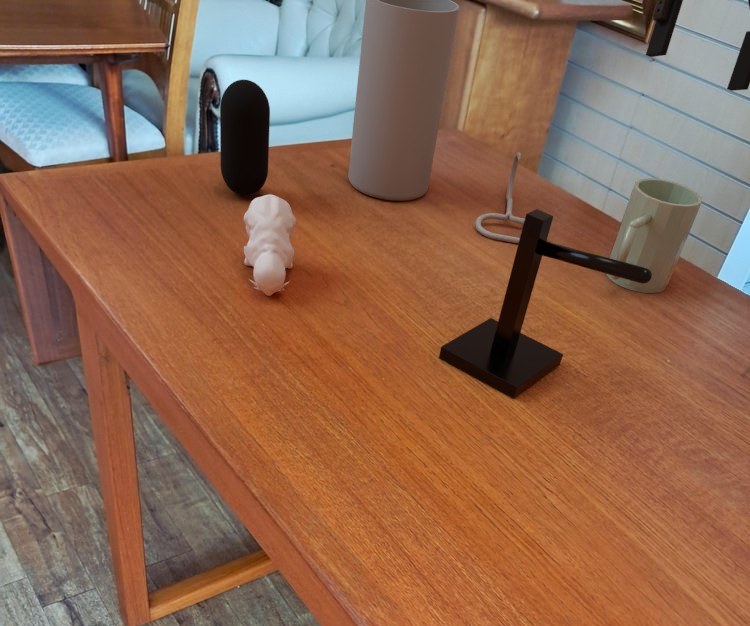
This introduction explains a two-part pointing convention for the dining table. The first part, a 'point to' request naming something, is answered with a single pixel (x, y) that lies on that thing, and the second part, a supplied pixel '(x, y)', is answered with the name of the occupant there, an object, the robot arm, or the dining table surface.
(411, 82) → the cylinder vase
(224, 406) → the dining table surface
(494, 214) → the hook
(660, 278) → the mug
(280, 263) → the white animal figurine
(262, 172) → the decorative object
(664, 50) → the robot arm
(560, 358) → the mug stand
